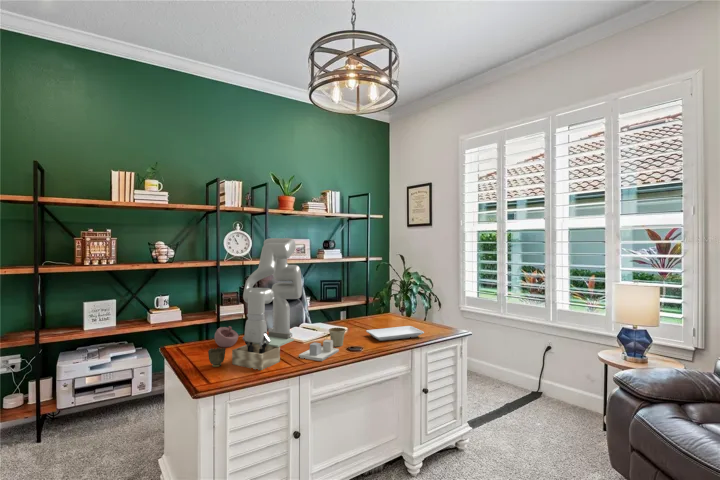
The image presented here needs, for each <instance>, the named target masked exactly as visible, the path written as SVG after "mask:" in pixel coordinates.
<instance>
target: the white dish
mask: <svg viewBox="0 0 720 480" xmlns="http://www.w3.org/2000/svg"><path fill="white" fill-rule="evenodd" d="M339 352H340V348H337V347H336V348H335V347H333V350H332V351H331V352H323V345H321V354H319V355H317V356H316V355H310V348H309V349H308V350H305V351H304V352H301V353H299V354H298V358H299V357H300V359H304V358H305V359H306V360H310V361H318V362H323V361H326V359H329V358H330V357H332V356H334V355H335V354H337V353H339Z"/></svg>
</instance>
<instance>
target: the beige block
mask: <svg viewBox="0 0 720 480" xmlns="http://www.w3.org/2000/svg"><path fill="white" fill-rule="evenodd" d="M322 347H323V352H331V351H332V350H333V348H334V346H333V340H331V339H324V340H323V342H322Z"/></svg>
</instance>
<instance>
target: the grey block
mask: <svg viewBox="0 0 720 480" xmlns="http://www.w3.org/2000/svg"><path fill="white" fill-rule="evenodd" d="M321 346H322V343H319V342H315V341H314V342H312V343H309V349H310V355H316V356H317V355H319V354H321Z"/></svg>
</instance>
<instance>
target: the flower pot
mask: <svg viewBox="0 0 720 480" xmlns="http://www.w3.org/2000/svg"><path fill="white" fill-rule="evenodd" d="M346 330H347V329H346V328H344V327H331V328H328V332H329V337H330V340H333V348H335V347H336V348H337V347H340V348H341V347H342V346H344V338H345V333H346Z"/></svg>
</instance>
